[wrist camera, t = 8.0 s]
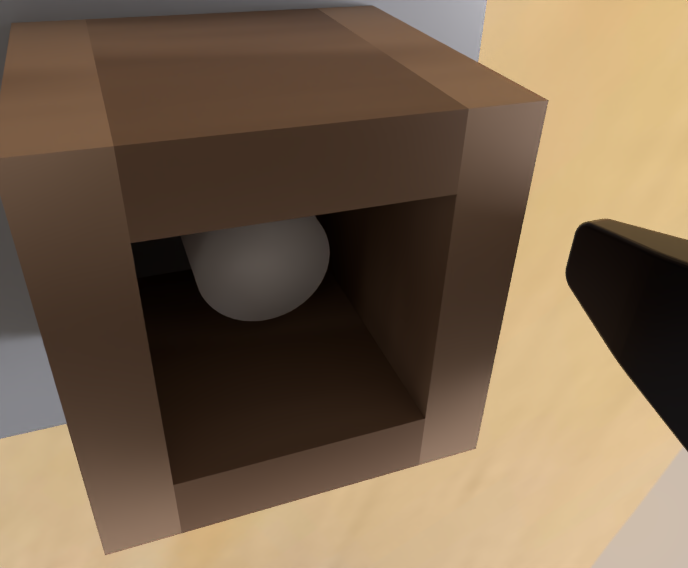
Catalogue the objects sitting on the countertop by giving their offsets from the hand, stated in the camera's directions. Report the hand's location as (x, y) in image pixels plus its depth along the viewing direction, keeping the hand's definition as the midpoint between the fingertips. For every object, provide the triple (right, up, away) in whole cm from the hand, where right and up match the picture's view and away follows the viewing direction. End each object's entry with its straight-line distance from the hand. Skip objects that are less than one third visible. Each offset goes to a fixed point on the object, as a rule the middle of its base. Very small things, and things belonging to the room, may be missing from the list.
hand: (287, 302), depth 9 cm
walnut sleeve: (-1, +2, +3) cm, 4 cm away
